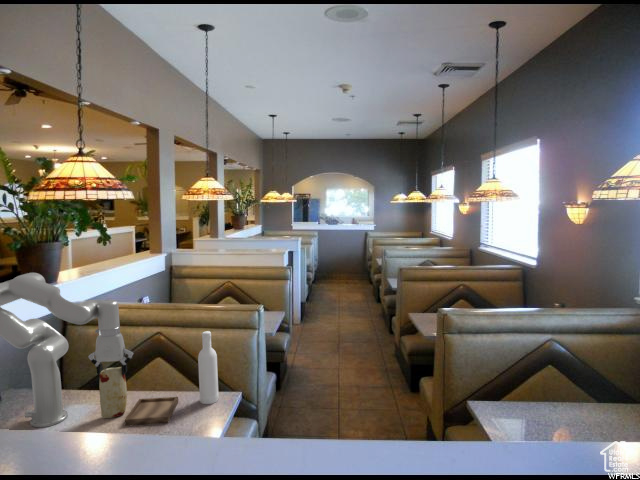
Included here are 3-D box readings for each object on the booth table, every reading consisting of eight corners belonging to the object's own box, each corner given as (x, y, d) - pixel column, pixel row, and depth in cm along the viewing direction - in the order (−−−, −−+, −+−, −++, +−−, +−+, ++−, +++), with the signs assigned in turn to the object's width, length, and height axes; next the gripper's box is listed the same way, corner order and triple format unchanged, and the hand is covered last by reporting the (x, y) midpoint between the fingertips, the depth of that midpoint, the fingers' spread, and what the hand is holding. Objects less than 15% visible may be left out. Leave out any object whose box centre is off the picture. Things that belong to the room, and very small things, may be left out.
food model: (102, 422, 172) (98, 372, 170) (100, 415, 177) (97, 367, 176) (129, 415, 177) (126, 367, 175) (126, 409, 182) (123, 362, 181)
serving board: (125, 425, 169) (124, 419, 168) (139, 404, 186) (139, 398, 186) (167, 423, 170) (167, 417, 170) (178, 402, 188) (178, 396, 188)
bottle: (200, 397, 192) (197, 330, 190) (219, 395, 194) (216, 329, 191) (198, 405, 184) (195, 335, 182) (218, 403, 186) (215, 334, 183)
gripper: (82, 335, 169) (85, 379, 171) (129, 333, 171) (131, 376, 172) (90, 330, 177) (93, 372, 178) (135, 328, 178) (137, 369, 180)
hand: (112, 374), depth 175 cm, fingers closed on food model, 8 cm apart
